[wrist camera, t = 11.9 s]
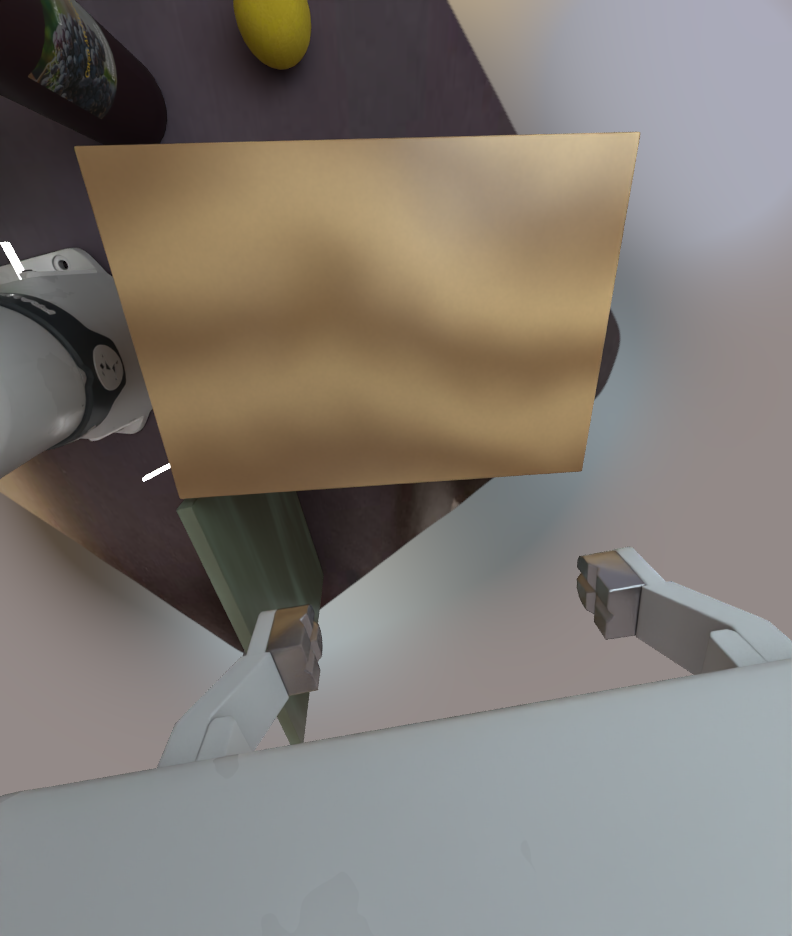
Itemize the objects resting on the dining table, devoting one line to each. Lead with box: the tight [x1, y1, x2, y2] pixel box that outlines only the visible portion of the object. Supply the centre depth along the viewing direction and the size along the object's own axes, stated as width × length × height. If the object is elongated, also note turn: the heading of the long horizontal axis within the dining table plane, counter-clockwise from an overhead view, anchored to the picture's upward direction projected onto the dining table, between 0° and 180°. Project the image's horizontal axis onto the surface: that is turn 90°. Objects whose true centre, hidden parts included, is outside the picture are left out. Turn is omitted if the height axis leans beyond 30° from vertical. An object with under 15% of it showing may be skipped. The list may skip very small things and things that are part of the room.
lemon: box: [233, 0, 311, 70], centre depth 32 cm, size 6×6×8 cm
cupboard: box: [74, 132, 640, 499], centre depth 34 cm, size 18×26×24 cm
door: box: [177, 491, 324, 745], centre depth 43 cm, size 7×26×24 cm, turn 10°
